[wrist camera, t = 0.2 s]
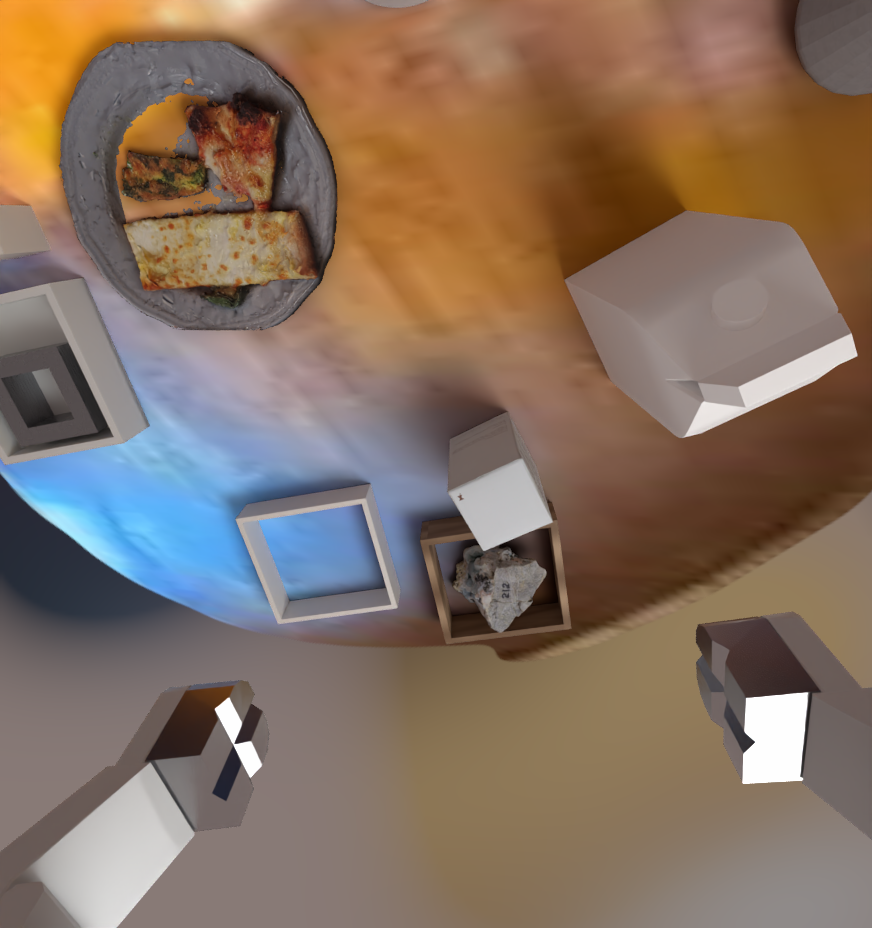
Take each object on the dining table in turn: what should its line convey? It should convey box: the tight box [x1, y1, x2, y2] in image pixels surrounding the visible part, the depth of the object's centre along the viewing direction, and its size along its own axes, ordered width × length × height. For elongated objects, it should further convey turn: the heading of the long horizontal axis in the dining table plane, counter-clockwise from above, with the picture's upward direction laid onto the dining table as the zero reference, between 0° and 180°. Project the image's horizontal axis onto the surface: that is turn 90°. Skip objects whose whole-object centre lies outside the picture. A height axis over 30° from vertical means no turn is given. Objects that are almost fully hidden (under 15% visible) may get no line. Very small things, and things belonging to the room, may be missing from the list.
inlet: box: [0, 342, 108, 447], centre depth 56 cm, size 9×9×4 cm
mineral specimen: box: [452, 545, 546, 633], centre depth 64 cm, size 10×8×10 cm
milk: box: [564, 210, 857, 438], centre depth 40 cm, size 12×12×26 cm
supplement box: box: [447, 412, 553, 551], centre depth 54 cm, size 7×7×13 cm
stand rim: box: [420, 502, 571, 644], centre depth 64 cm, size 15×15×4 cm
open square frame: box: [236, 484, 400, 624], centre depth 64 cm, size 15×15×4 cm
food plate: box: [59, 41, 337, 330], centre depth 49 cm, size 25×23×4 cm
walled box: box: [0, 278, 150, 465], centre depth 56 cm, size 16×14×5 cm
